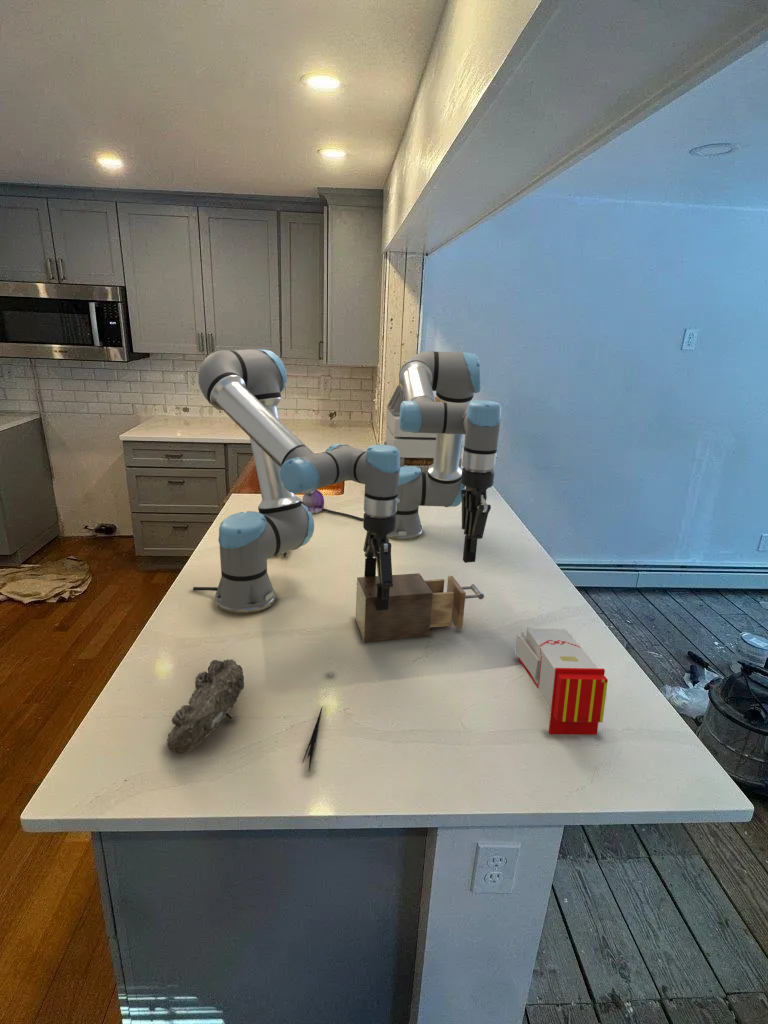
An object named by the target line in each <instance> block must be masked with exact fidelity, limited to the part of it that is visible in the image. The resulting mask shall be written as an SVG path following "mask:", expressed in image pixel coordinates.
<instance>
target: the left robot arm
mask: <svg viewBox="0 0 768 1024" xmlns="http://www.w3.org/2000/svg"><path fill="white" fill-rule="evenodd" d="M197 377H198V378H197V379H198V380H197V381H198V385H199V390H200V391H201V394H202V395H203V397H204V398H205V399H206V401H207V402H208V403H209V404H210V405H211V406H212V407H213V408H214V409H216V410H218V411H223V412H224V413H225V414H226V415H227V416H228V417H229V418H230V419H231V420H232V421H233V422H234V423H235V424H236V425H237V426H238V427H239V428H240V429H241V430H242V431H243V432H244V433H245V434H246V435H247V436H248V437H249V440H250V446H251V451H252V455H253V460H254V465H255V470H256V475H257V481H258V487H259V490H260V496H261V502H260V503H259V505H258V506H257V510H258V511H254V510H253V511H252V510H251V511H249V510H248V511H245V512H244V511H240V512H236V513H233V514H231V515H228V516H227V517H225V518H224V519H223V520H222V521H221V522H220V524H219V528H218V540H217V541H218V544H219V558H220V559H219V560H220V574H221V575H220V579H219V580H220V581H219V583H218V585H217V587H216V586H213V587H212V586H211V587H210V586H193V588H192V590H193V591H211V592H213V591H214V592H216V593H215V606H216V607H217V609H219V610H220V611H221V612H224V613H226V614H231V615H237V616H246V615H252V614H258V613H261V612H263V611H266V610H267V609H269V608H270V607H271V606H272V605H273V604H275V601H276V592H275V591H276V590H275V589H274V587H273V584H272V581H271V579H270V576H269V574H268V560H269V559H271V558H274V557H275V558H276V557H278V556H279V555H284V553H285V552H287V553H289V552H290V551H296V550H297V549H299V548H301V547H303V546H305V545H307V544H309V542H311V541H310V540H311V539H312V537H313V535H314V532H315V519H314V517H313V513H312V514H311V512H309V509H308V508H307V507H306V506H305V505H303V504H301V501H302V500H301V499H302V498H301V497H299V496H297V495H296V494H303V493H304V492H310V491H313V490H315V489H317V490H318V489H321V488H325V487H328V486H333V485H336V484H339V483H340V484H341V483H344V482H346V481H352V482H354V483H359V484H361V485H364V495H363V496H364V498H363V511H364V513H363V518H364V520H363V521H362V522H363V523H362V527H363V529H364V530H365V532H366V535H365V540H364V544H363V549H362V551H363V552H364V557H365V558H364V576H363V577H372V576H378V580H379V583H377V584H376V587H377V600H376V610H388V603H389V588H390V587H393V580H392V575H393V564H392V543H391V542H390V538H387V535H388V534H389V533H391V532H393V531H394V530H395V528H396V515H395V513H396V511H397V503H399V501H400V500H399V499H397V496H398V492H397V491H398V482H399V472H400V452H399V450H398V449H397V448H396V447H394V446H390V445H384V444H382V443H381V444H379V443H378V444H372V445H369V446H368V447H367V448H366V450H364V449H361V448H357V447H353V446H351V445H349V444H341V443H333V444H331V445H330V446H329V447H328V448H326V449H325V451H323V452H318V453H315V452H314V451H312V450H311V449H310V448H309V447H308V446H307V445H306V444H305V443H304V442H303V441H302V440H301V439H300V438H299V437H298V436H297V435H296V434H295V433H293V432H292V431H291V429H289V428H288V427H287V426H286V425H285V424H284V423H283V422H282V421H281V419H280V414H279V408H278V405H279V404H280V402H281V401H282V395H281V393H282V392H283V391H284V390H285V388H286V383H287V380H288V376H287V369H286V367H285V365H284V362H283V360H282V359H281V358H280V357H279V356H278V355H277V354H276V353H275V352H273V351H271V350H269V349H261V348H250V349H249V348H247V349H231V350H230V349H229V350H228V349H223V350H221V349H220V350H217V351H214V352H212V353H210V354H209V355H208V356H207V357H205V359H204V360H203V361H202V362H201V364H200V367H199V370H198V375H197ZM288 551H289V552H288Z"/></svg>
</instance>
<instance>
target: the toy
mask: <svg viewBox="0 0 768 1024" xmlns="http://www.w3.org/2000/svg"><path fill="white" fill-rule="evenodd" d="M520 632H521V633H520V634H519V633H518V634H517V635H516V642H515V647H514V653H515V654H516V655H517V660H518V661H519V663H520V664H521V666H522V667H523V669H524V670H525V672H526V673H527V675H528V676H529V678H530V680H531V681H532V683H533V684H534V685H535V687H536V688H537V689H538V692H539V694H540V696H541V697H542V699H543V701H544V702H545V704H546V706H547V708H548V710H549V711H550V716H549V724H548V734H549V735H566V736H567V735H568V736H569V735H571V736H575V735H576V736H597V735H598V730H599V723H603V722H604V714H605V705H606V698H607V689H608V682H609V680H608V678H607V677H606V676H605V674H606V669H604V668H599V667H598V666H597V664H596V663H594V662H593V660H592V659H591V657H589V655H588V654H587V653H586V652H585V650H584V649H583V648H582V647H581V646H580V644H579V643H578V642H577V641H576V640H575V639H574V637H573V636H572V635H571V634H570V632H569V631H568V630H567V629H566V628H535V627H534V628H533V627H532V628H531V627H529V628H526V630H523V629H521V631H520Z"/></svg>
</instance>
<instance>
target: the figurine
mask: <svg viewBox="0 0 768 1024" xmlns="http://www.w3.org/2000/svg"><path fill="white" fill-rule="evenodd" d="M303 493H304V494H303V496H302V498H301V499H302V500H301V501H302V502H303V504H302V505H305V506H306V507H307V508H308V509H309V512H311V514H312V515H313V514H318V513H321V512H323V511H322V509H325V507H324V506H325V497H324V495H323V494H322V492H321V491H320V490H318V489H315V490H313V491H310V492H303Z"/></svg>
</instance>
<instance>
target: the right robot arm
mask: <svg viewBox="0 0 768 1024" xmlns="http://www.w3.org/2000/svg"><path fill="white" fill-rule="evenodd" d="M481 368H482V367H481V362H480V359H479V357H478V355H477V354H476V353H473V352H465V351H462V352H461V351H460V352H459V351H434V350H427V351H421V352H419V353H416V354H413V355H412V356H410V357H409V358H408V359H407V360H406V361H405V362H403V364H402V365H401V367H400V369H399V373H398V381H399V384H400V386H401V387H402V388H403V389H404V392H405V399H406V401H403V402H402V403H401V405H400V429H401V430H402V431H404V432H412V433H437V434H436V443H435V452H434V461H433V464H432V465H430V466H429V465H428V469H427V472H424V471H423V472H422V469H421V468H420V467H419V466H407V465H404V467H400V472H399V482H398V491H397V492H398V496H397V499H399V500H400V501H399V503H397V511H396V513H395V515H396V528H395V530H394V531H393V532H391V533H389V534H388V535H387V538H388V539H389V540H395V541H410V540H415V539H418V538H420V537H421V536H422V535H423V525H422V524H421V518H420V515H419V507H444V508H449V507H451V508H455V507H458V506H459V505H460V504H461V530H463V534H464V544H463V553H462V554H463V555H462V561H463V562H464V563H476V558H477V548H478V541H479V540H480V539H483V537H484V533H485V529H486V525H487V521H488V516H489V513H490V511H491V508H492V506H491V504H487V498H488V497H487V490H488V489H489V488H492V487H493V485H494V481H495V470H494V469H495V468H496V461H497V459H498V454H497V451H498V445H499V444H498V443H499V435H500V427H501V422H502V406H501V404H500V403H499V402H497V401H493V400H485V399H475V400H474V394H479V393H480V392H481V387H482V371H481ZM434 392H435V395H434ZM434 397H437V398H438V399H439V400H440V402H435V398H434ZM463 439H464V446H463V443H462V441H463ZM461 445H462V446H463V450H462V462H461V467H463V468H461V469H460V468H459V460H460V452H461ZM301 504H302V505H303V500H301ZM321 512H326V513H330V514H334V515H339V516H344V517H348V518H352V519H355V520H358V521H362V522H363V520H364V517H359V516H356V515H353V514H349V513H345V512H340V511H335V510H331V509H328V508H323V509H322V511H321Z"/></svg>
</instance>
